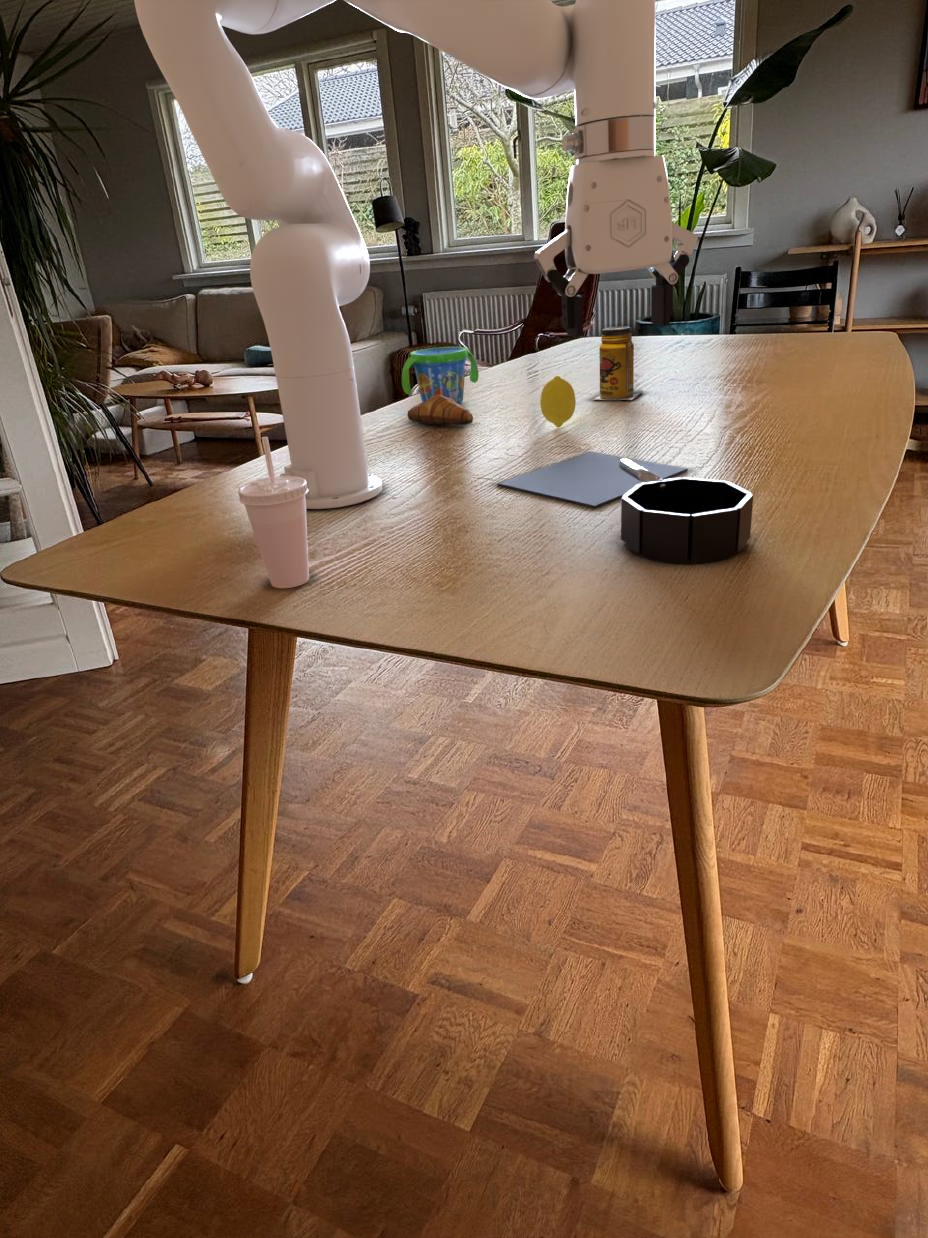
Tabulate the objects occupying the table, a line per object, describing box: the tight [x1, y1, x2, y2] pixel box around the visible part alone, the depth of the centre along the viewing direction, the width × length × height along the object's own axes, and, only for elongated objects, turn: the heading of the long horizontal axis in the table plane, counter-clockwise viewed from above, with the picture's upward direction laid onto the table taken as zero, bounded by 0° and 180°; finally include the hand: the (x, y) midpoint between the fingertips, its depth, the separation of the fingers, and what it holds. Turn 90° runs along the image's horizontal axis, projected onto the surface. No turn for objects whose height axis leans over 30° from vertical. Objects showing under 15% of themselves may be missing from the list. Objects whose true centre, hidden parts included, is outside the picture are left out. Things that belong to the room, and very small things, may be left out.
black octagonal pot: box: [619, 457, 754, 565], centre depth 84 cm, size 22×12×5 cm, turn 13°
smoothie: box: [237, 436, 310, 589], centre depth 76 cm, size 6×6×14 cm
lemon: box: [539, 375, 577, 428], centre depth 128 cm, size 6×6×8 cm
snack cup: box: [401, 346, 480, 406], centre depth 150 cm, size 16×10×10 cm
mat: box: [497, 451, 688, 509], centre depth 102 cm, size 18×16×1 cm
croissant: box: [407, 394, 474, 426], centre depth 138 cm, size 14×7×5 cm, turn 54°
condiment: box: [593, 325, 645, 401], centre depth 145 cm, size 7×8×12 cm
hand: (618, 330), depth 85 cm, fingers open, 9 cm apart
